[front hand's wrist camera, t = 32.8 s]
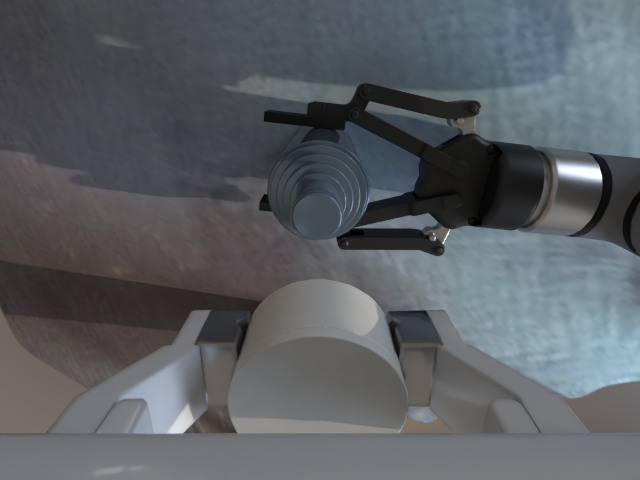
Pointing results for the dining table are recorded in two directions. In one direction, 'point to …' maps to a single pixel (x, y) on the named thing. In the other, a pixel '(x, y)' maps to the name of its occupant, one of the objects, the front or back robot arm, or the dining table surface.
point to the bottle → (318, 184)
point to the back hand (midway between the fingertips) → (264, 160)
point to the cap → (318, 365)
